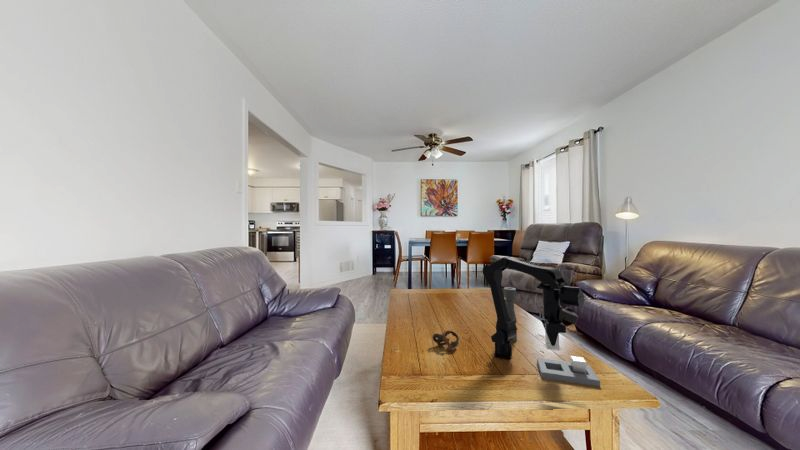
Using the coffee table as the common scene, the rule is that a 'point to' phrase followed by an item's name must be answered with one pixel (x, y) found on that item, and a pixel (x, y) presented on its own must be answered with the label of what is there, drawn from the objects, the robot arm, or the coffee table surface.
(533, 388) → the coffee table surface
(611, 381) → the coffee table surface
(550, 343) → the billet
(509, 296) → the candle holder
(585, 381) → the pallet
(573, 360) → the block
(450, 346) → the brown looped piece
